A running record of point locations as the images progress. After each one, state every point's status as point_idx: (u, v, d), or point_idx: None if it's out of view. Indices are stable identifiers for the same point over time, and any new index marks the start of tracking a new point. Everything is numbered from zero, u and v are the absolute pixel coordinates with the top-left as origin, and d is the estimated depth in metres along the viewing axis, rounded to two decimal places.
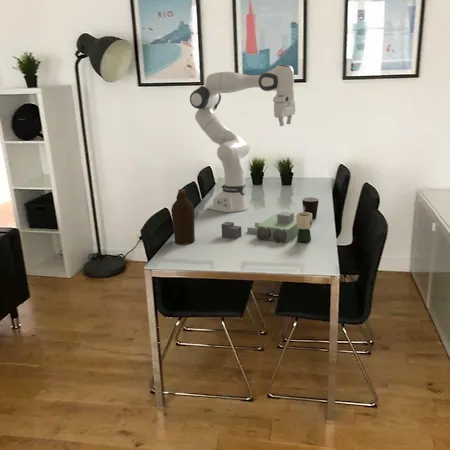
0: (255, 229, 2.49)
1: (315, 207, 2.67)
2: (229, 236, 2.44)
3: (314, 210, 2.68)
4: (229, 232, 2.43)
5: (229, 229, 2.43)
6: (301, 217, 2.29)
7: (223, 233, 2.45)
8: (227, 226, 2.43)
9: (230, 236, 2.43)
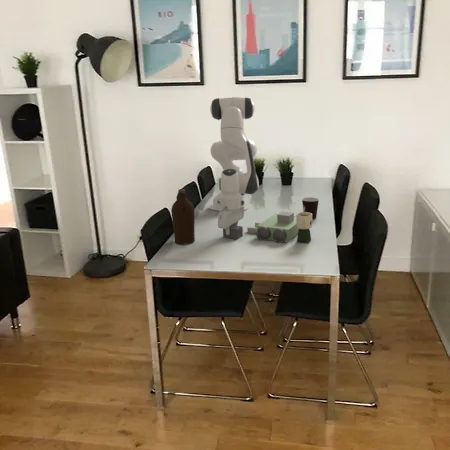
0: (255, 229, 2.49)
1: (315, 207, 2.67)
2: (230, 236, 2.43)
3: (314, 210, 2.68)
4: (231, 232, 2.42)
5: (230, 229, 2.42)
6: (301, 217, 2.29)
7: (224, 233, 2.44)
8: None
9: (231, 236, 2.43)
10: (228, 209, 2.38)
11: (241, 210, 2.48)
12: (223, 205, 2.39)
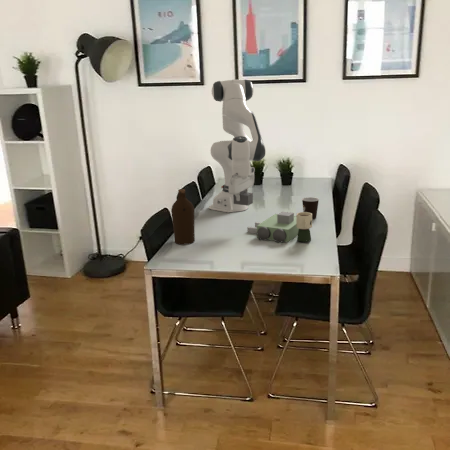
0: (255, 229, 2.49)
1: (315, 207, 2.67)
2: (241, 202, 2.48)
3: (314, 210, 2.68)
4: (241, 198, 2.48)
5: (241, 195, 2.47)
6: (301, 217, 2.29)
7: (235, 199, 2.50)
8: None
9: (242, 202, 2.48)
10: (239, 175, 2.43)
11: (251, 177, 2.53)
12: (234, 172, 2.44)
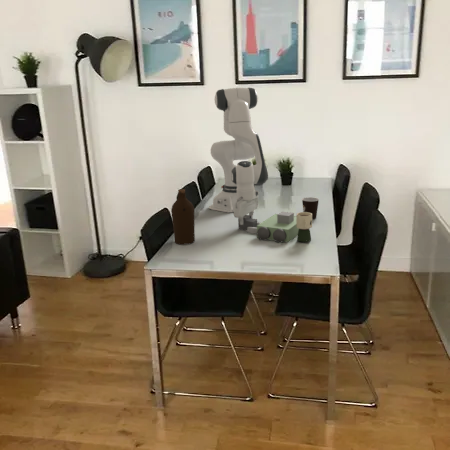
0: (255, 229, 2.49)
1: (315, 207, 2.67)
2: (245, 228, 2.55)
3: (314, 210, 2.68)
4: (246, 224, 2.54)
5: (246, 221, 2.53)
6: (301, 218, 2.29)
7: (240, 225, 2.56)
8: (244, 219, 2.54)
9: (246, 228, 2.54)
10: (243, 199, 2.49)
11: (255, 201, 2.59)
12: (239, 195, 2.49)
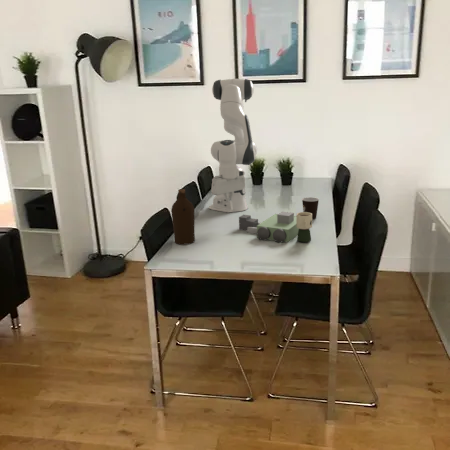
0: (255, 229, 2.49)
1: (315, 207, 2.67)
2: (246, 228, 2.54)
3: (314, 210, 2.68)
4: (247, 224, 2.54)
5: (246, 222, 2.53)
6: (301, 218, 2.29)
7: (240, 225, 2.56)
8: (244, 219, 2.53)
9: None
10: (223, 177, 2.50)
11: (241, 181, 2.59)
12: (219, 173, 2.52)
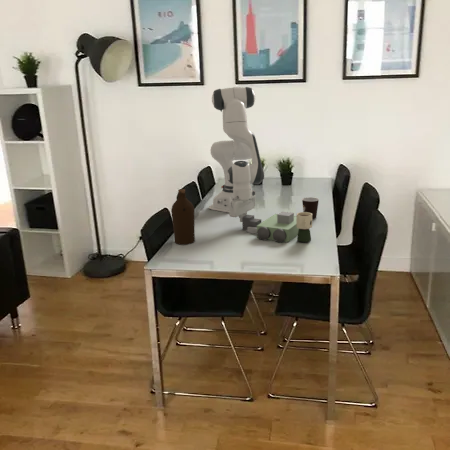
0: (255, 229, 2.49)
1: (315, 207, 2.67)
2: None
3: (314, 210, 2.68)
4: (250, 224, 2.53)
5: (249, 222, 2.52)
6: (301, 217, 2.29)
7: (244, 225, 2.55)
8: (248, 219, 2.53)
9: None
10: (239, 199, 2.49)
11: (252, 200, 2.59)
12: (235, 195, 2.50)
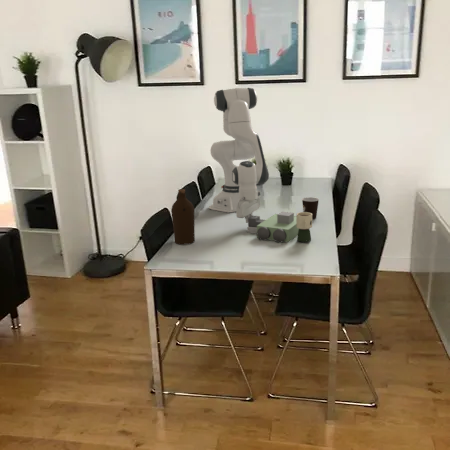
0: (255, 229, 2.49)
1: (315, 207, 2.67)
2: None
3: (314, 210, 2.68)
4: (256, 225, 2.51)
5: (256, 222, 2.51)
6: (301, 217, 2.29)
7: (250, 226, 2.53)
8: (254, 220, 2.51)
9: None
10: (246, 199, 2.48)
11: (257, 201, 2.58)
12: (241, 196, 2.49)
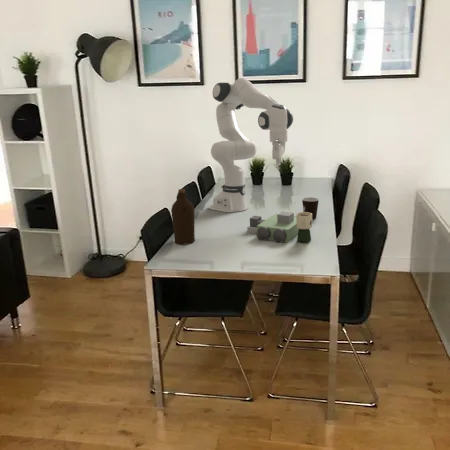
0: (255, 229, 2.49)
1: (315, 207, 2.67)
2: None
3: (314, 210, 2.68)
4: None
5: (257, 223, 2.51)
6: (301, 218, 2.29)
7: None
8: (255, 220, 2.51)
9: None
10: (279, 141, 2.53)
11: (283, 145, 2.65)
12: (274, 138, 2.54)
